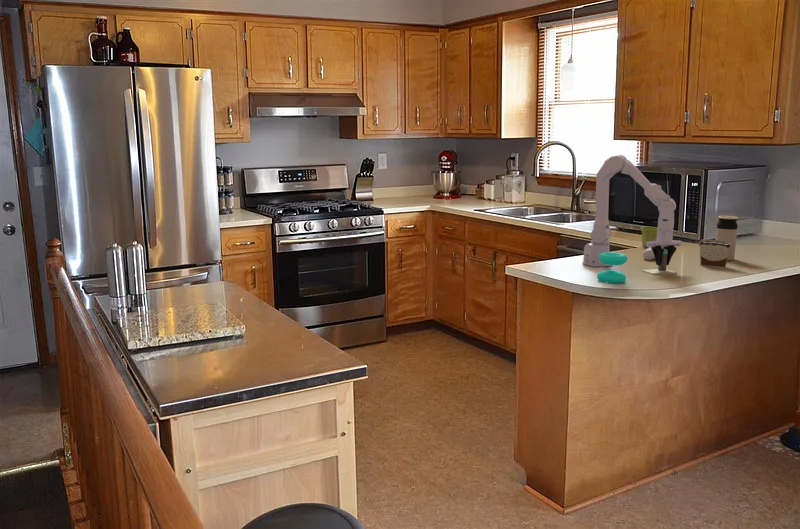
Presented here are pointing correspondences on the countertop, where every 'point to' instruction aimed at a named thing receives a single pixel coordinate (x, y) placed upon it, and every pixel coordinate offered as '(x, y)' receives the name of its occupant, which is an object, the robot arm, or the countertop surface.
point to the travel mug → (727, 232)
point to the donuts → (612, 275)
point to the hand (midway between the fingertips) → (662, 264)
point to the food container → (714, 253)
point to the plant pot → (648, 234)
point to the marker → (663, 261)
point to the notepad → (659, 272)
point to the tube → (648, 254)
